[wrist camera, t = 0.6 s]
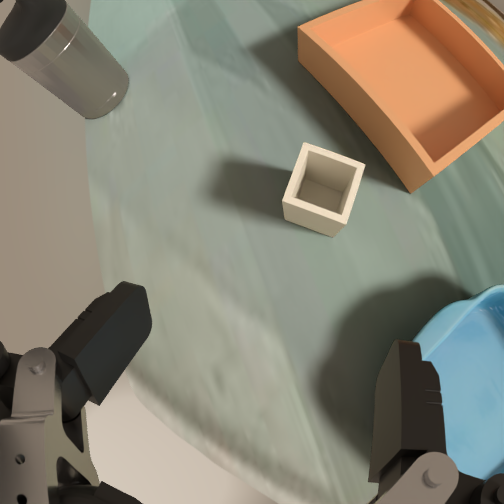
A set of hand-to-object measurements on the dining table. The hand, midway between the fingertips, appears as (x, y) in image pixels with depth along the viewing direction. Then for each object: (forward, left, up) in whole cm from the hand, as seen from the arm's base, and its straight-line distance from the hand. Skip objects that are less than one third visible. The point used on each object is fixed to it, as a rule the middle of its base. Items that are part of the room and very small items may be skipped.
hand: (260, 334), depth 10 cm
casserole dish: (+28, +12, -26) cm, 40 cm away
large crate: (-12, +29, -25) cm, 41 cm away
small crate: (-6, +8, -25) cm, 27 cm away
